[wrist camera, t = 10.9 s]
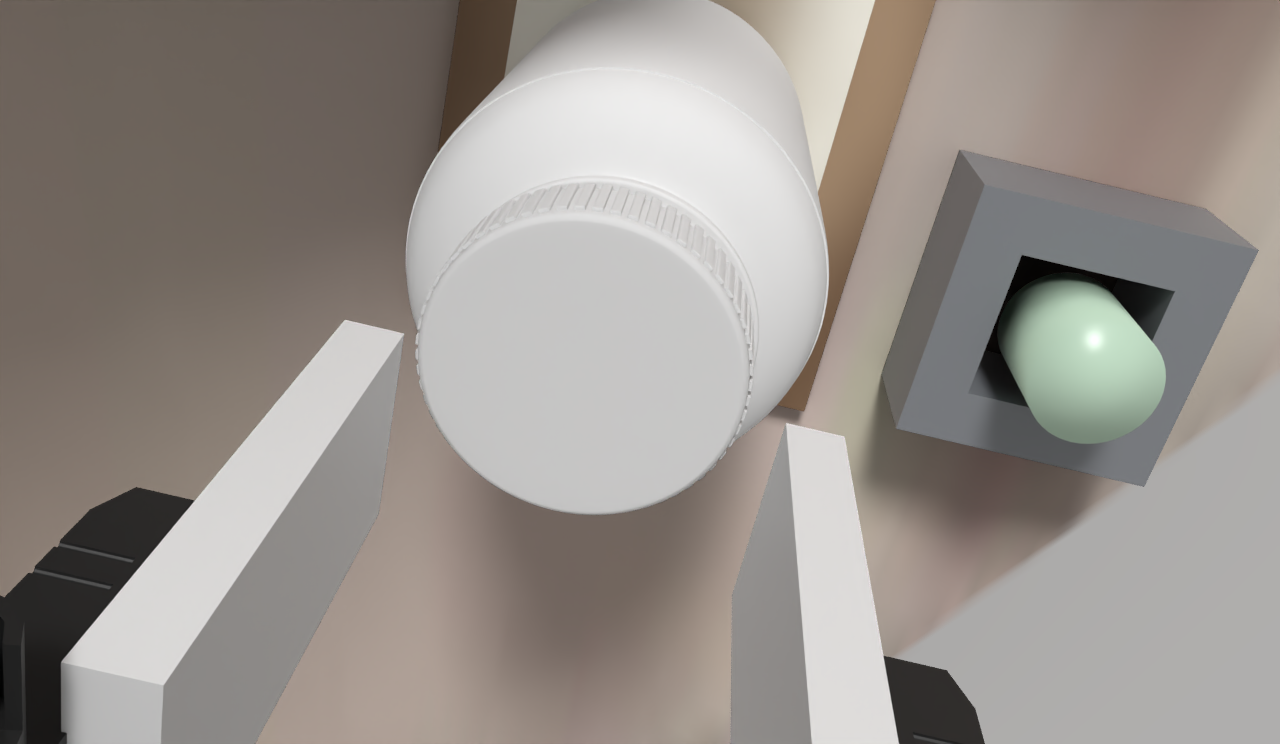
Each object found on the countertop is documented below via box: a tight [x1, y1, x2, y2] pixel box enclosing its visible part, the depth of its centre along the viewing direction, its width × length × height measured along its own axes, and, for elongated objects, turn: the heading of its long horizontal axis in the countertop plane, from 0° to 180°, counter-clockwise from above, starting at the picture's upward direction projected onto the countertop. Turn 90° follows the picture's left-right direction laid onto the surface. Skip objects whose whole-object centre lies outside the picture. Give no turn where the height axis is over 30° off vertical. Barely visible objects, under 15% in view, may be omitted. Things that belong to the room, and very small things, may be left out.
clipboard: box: [438, 0, 936, 411], centre depth 31 cm, size 12×14×1 cm
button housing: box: [882, 150, 1259, 487], centre depth 31 cm, size 7×7×4 cm
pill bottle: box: [406, 0, 829, 515], centre depth 24 cm, size 8×8×15 cm
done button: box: [997, 272, 1166, 444], centre depth 29 cm, size 3×3×4 cm
